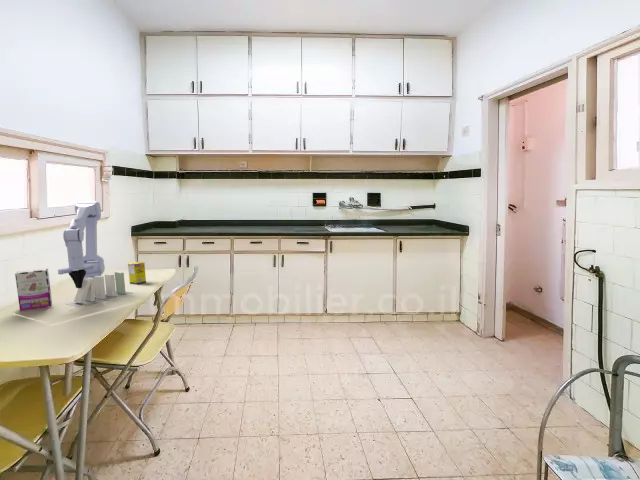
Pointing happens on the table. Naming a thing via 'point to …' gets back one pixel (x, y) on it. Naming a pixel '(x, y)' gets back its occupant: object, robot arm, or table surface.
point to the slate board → (97, 299)
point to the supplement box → (137, 272)
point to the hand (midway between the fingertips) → (78, 287)
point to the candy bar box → (33, 289)
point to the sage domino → (120, 282)
